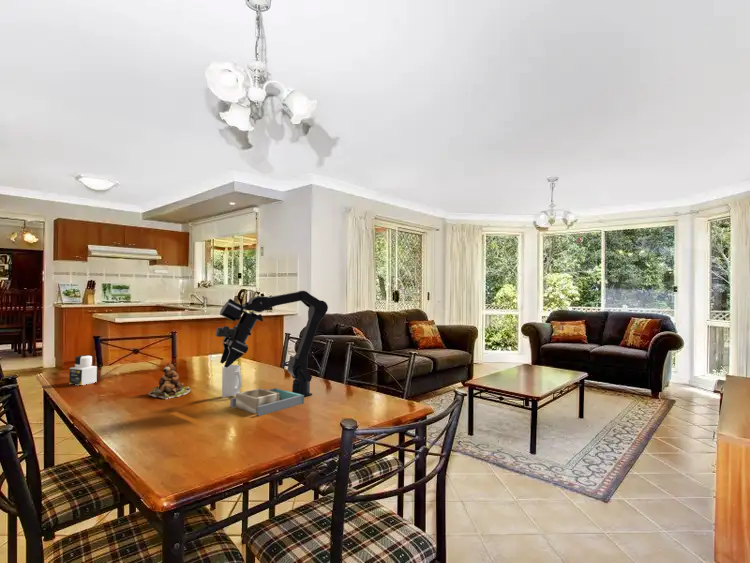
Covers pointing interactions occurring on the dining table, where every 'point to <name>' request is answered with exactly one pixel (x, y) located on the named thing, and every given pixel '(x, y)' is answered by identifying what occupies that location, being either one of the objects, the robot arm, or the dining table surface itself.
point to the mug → (231, 380)
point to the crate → (255, 399)
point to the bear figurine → (169, 384)
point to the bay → (277, 402)
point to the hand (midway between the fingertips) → (223, 365)
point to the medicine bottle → (83, 371)
